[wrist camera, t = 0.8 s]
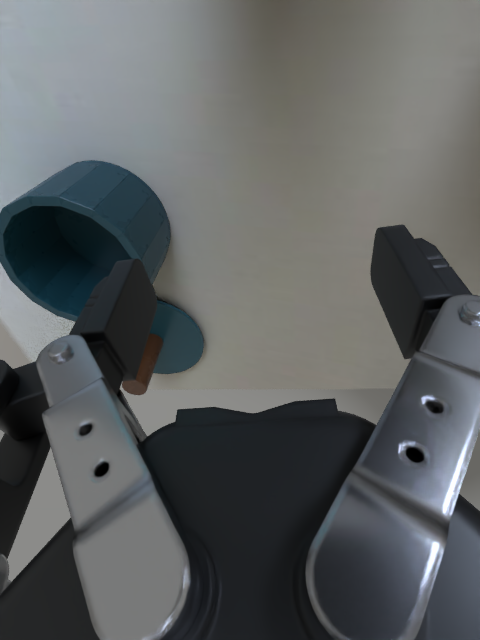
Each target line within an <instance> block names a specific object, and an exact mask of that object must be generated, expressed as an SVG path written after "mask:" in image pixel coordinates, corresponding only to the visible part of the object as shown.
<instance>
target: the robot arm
mask: <svg viewBox="0 0 480 640" xmlns="http://www.w3.org/2000/svg"><path fill="white" fill-rule="evenodd" d="M371 282H372V285H373V288H374V290H375V292H376V295H377V297H378V299H379V302H380V304H381V306H382V309H383V311H384V313H385V315H386V318H387V320H388V322H389V325H390V327H391V329H392V332H393V334H394V336H395V338H396V341H397V343H398V345H399V348H400V350H401V352H402V354H403V357H404V359H411V358H412V359H411V361H410V362H409V364H408V366H407V368H406V370H405V372H404V374H403V376H402V378H401V380H400V381H399V383H398V385H397V387H396V389H395V391H394V393H393V395H392V397H391V399H390V401H389V403H388V404H387V406H386V408H385V410H384V412H383V414H382V416H381V418H380V420H379V422H378V423H377V425H375V424H373V423H371V422H369V421H368V420H366V419H364V418H361V417H359V416H356V415H354V414H350V413H346V412H342V411H338V410H337V405H336V401H335V399H323V400H310V401H309V400H307V401H295V402H292V403H288V404H285V405H282V406H278V407H275V408H272V409H268V410H266V411H262V412H259V413H246V412H240V411H234V410H229V409H223V408H217V407H207V408H193V409H179V410H177V415H176V421H175V422H174V423H171V424H168V425H166V426H164V427H162V428H160V429H158V430H157V431H155V432H153V433H152V434H151V435H149V436H148V437H147V436H146V434H145V432H144V431H143V429H142V427H141V426H140V424H139V422H138V420H137V418H136V416H135V415H134V413H133V411H132V409H131V408H130V406H129V404H128V402H127V400H126V398H125V397H124V395H123V393H122V392H121V390H120V386H121V383H122V381H132V380H136V377H137V373H138V370H139V367H140V363H141V360H142V357H143V353H144V350H145V347H146V343H147V340H148V336H149V333H150V330H151V326H152V323H153V320H154V316H155V313H156V309H157V297H156V293H155V291H154V288H153V286H152V284H151V282H150V279H149V277H148V275H147V272H146V270H145V268H144V265H143V263H142V262H141V260H140V259H130V260H122V261H117V262H116V263H115V265H114V267H113V268H112V270H111V272H110V274H109V276H107V277H104V278H103V279H102V280H101V281H100V282H99V283H98V284H97V285H96V286H95V287H94V289H93V291H92V293H91V295H90V299H88V300H87V302H86V304H85V307H84V308H83V310H82V311H81V313H80V315H79V317H78V319H77V321H76V323H75V325H74V326H73V328H72V330H71V332H70V334H69V335H67V336H63V337H61V338H58V339H56V340H54V341H53V342H51V343H50V344H48V345H47V346H46V347H45V348H44V349H43V350H42V351H41V352H40V354H39V356H38V357H37V360H36V362H33V363H30V364H27V365H24V366H21V367H18V368H15V369H12V368H11V367H10V366H9V365H8V364H7V363H6V362H5V361H3V360H0V430H2V431H3V432H4V433H5V434H4V436H3V438H2V440H1V442H0V640H480V511H479V510H478V509H476V508H475V507H474V506H473V505H472V504H471V503H469V502H468V501H467V500H466V499H465V498H464V497H462V496H461V495H460V494H459V491H460V487H461V485H462V482H463V478H464V475H465V472H466V469H467V466H468V463H469V459H470V457H471V454H472V450H473V448H474V444H475V441H476V438H477V435H478V432H479V429H480V296H478V295H472V294H471V292H470V291H469V290H468V288H467V287H466V286H465V284H464V283H463V282H462V280H461V279H460V278H459V277H458V275H457V274H456V273H455V271H454V270H453V269H452V267H449V263H448V262H447V261H446V259H445V258H443V256H442V254H441V253H440V252H439V250H438V249H437V248H436V246H434V245H433V244H431V243H429V242H428V241H426V240H424V239H422V238H417V239H414V238H413V237H412V235H411V234H410V232H409V231H408V230H407V228H406V227H405V225H395V226H387V227H380V228H378V229H377V230H376V234H375V240H374V247H373V255H372V262H371ZM50 447H51V449H52V452H53V456H54V460H55V463H56V467H57V470H58V473H59V477H60V480H61V484H62V487H63V491H64V494H65V498H66V501H67V505H68V508H69V511H70V515H71V518H70V519H69V520H68V521H67V522H66V524H65V525H64V526H63V527H62V528H61V529H60V530H59V531H58V532H57V533H56V534H55V535H54V537H53V538H52V539H51V540H50V541H49V542H48V543H47V544H46V545H45V546H44V548H42V550H41V551H40V552H39V553H38V554H37V555H36V556H35V557H34V558H33V559H32V560H31V562H30V563H29V564H28V565H27V566H26V567H25V568H24V569H23V570H22V571H21V572H20V573H19V575H18V576H17V577H16V578H15V579H14V580H13V581H12V582H11V581H10V580H8V576H9V564H8V561H7V558H8V556H9V553H10V550H11V548H12V545H13V543H14V540H15V538H16V535H17V532H18V530H19V527H20V524H21V522H22V520H23V517H24V514H25V511H26V509H27V507H28V504H29V501H30V499H31V496H32V494H33V491H34V488H35V486H36V483H37V481H38V478H39V476H40V473H41V470H42V468H43V465H44V463H45V460H46V458H47V455H48V452H49V450H50Z"/></svg>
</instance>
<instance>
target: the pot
mask: <svg viewBox="0 0 480 640" xmlns="http://www.w3.org/2000/svg"><path fill="white" fill-rule="evenodd" d="M169 244H170V225H169V220H168V217H167V214H166V211H165V209H164V207H163V205H162V203H161V202H160V200H159V199H158V197H157V196H156V194H155V193H154V192H153V191H152V190H151V188H150V187H149V186H148V185H147V184H146V183H145V182H144V181H142V180H141V179H140V178H138V177H137V176H136V175H134V174H133V173H131V172H130V171H128V170H126V169H124V168H122V167H120V166H117V165H114V164H111V163H107V162H103V161H82V162H77V163H74V164H72V165H70V166H68V167H67V168H65V169H63V170H61V171H59V172H58V173H56V174H54V175H53V176H51V177H50V178H48V179H47V180H45V181H44V182H42V183H40V184H39V185H37V186H36V187H34V188H33V189H31V190H30V191H28V192H27V193H25V194H24V195H22V196H20V197H19V198H17V199H16V200H14V201H13V202H11V203H10V204H8V205H7V206H5V207H4V208H3V209H2V211H1V213H0V262H1V264H2V266H3V268H4V269H5V271H6V273H7V275H8V276H9V278H10V279H11V281H12V282H13V283H14V284H15V285H16V286H17V287H18V288H19V289H20V290H21V291H22V292H23V293H24V294H25V295H26V296H27V297H29V298H30V299H31V300H32V301H33V302H35V303H37V304H38V305H40V306H42V307H43V308H45V309H47V310H48V311H50V312H52V313H53V314H55V315H57V316H60V317H63V318H66V319H69V320H72V321H75V322H76V321H77V319H78V317H79V315H80V313H81V311H82V310H83V308H84V307H85V304H86V302H87V300H88V299H90V295H91V293H92V291H93V289H94V287H95V286H96V285H97V284H98V283H99V282H100V281H101V280H102V279H103V278H104V277H107V276H109V274H110V272H111V270H112V268H113V267H114V265H115V263H116V262H117V261H122V260H130V259H140V260H141V262H142V263H143V265H144V268H145V270H146V272H147V275H148V277H149V279H150V282H151V284H153V282H154V280H155V278H156V276H157V274H158V272H159V270H160V268H161V266H162V263H163V261H164V259H165V257H166V253H167V251H168V248H169Z"/></svg>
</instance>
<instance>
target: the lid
mask: <svg viewBox="0 0 480 640" xmlns="http://www.w3.org/2000/svg"><path fill="white" fill-rule="evenodd" d="M203 348H204V340H203V336H202V333H201V331H200V329H199V327H198V326H197V324H196V323H195V322H194V321H193V320H192V319H191V318H190V317H189V316H188V315H187V314H186V313H185V312H183V311H181V310H180V309H178V308H176V307H175V306H173V305H170V304H168V303H165V302H162V301H159V300H157V309H156V313H155V316H154V320H153V323H152V326H151V330H150V333H149V336H148V340H147V343H146V347H145V350H144V353H143V357H142V360H141V363H140V367H139V370H138V373H137V377H136V380H132V381H123V383H122V387H123V389H124V390H125V391H127V392H128V393H130V394H134V395H142V394H144V393H145V392H146V391H147V388H148V385H149V382H150V379H151V377H152V374H153V373H159V374H172V373H178V372H182V371H185V370H187V369H189V368H191V367H192V366H194V365H195V364H196V363H197V362H198V361H199V359H200V357H201V356H202V353H203Z"/></svg>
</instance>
